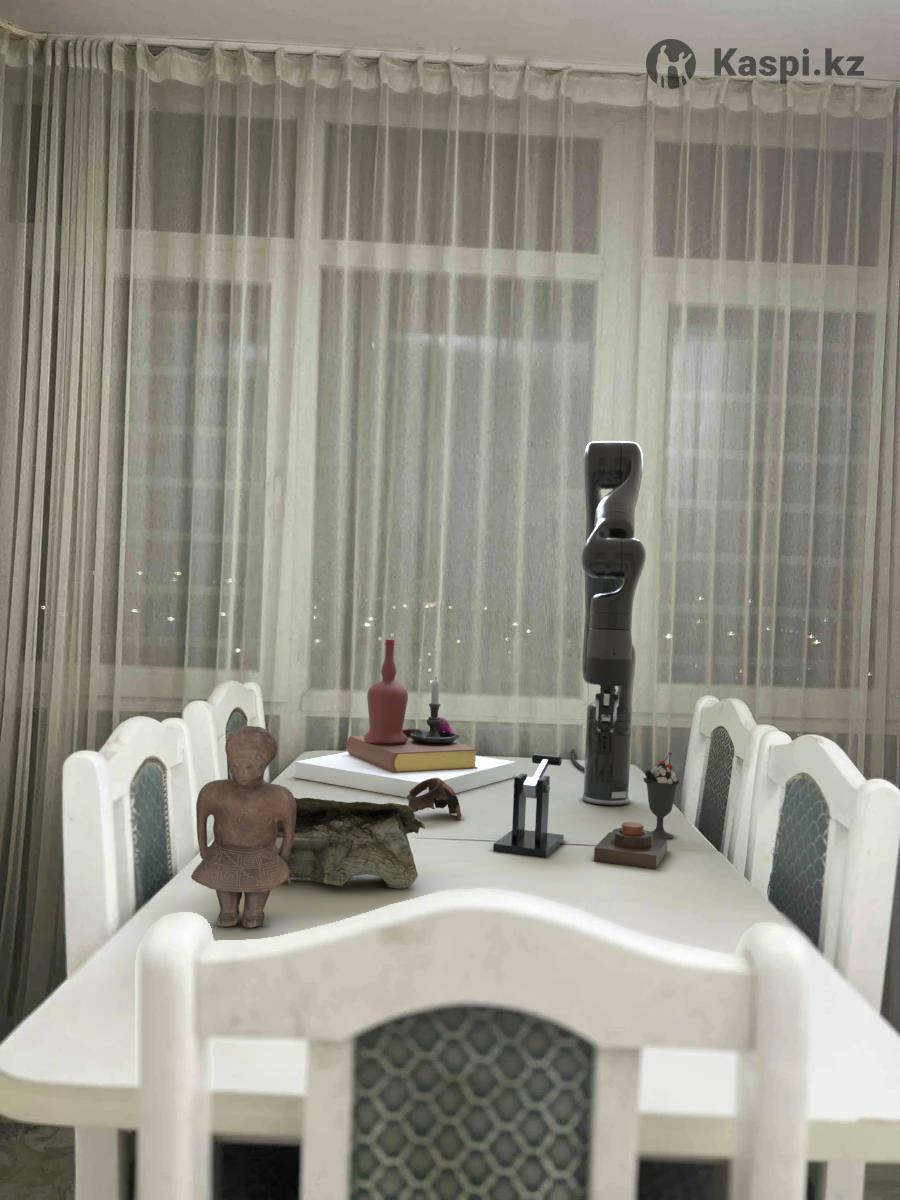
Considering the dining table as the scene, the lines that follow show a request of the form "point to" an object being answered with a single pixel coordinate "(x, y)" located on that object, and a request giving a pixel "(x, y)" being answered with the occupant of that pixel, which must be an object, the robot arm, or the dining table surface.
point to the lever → (539, 773)
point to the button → (632, 828)
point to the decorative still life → (403, 748)
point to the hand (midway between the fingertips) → (604, 751)
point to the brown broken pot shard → (434, 796)
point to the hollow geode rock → (352, 842)
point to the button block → (631, 849)
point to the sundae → (661, 794)
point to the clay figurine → (245, 829)
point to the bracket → (539, 839)
